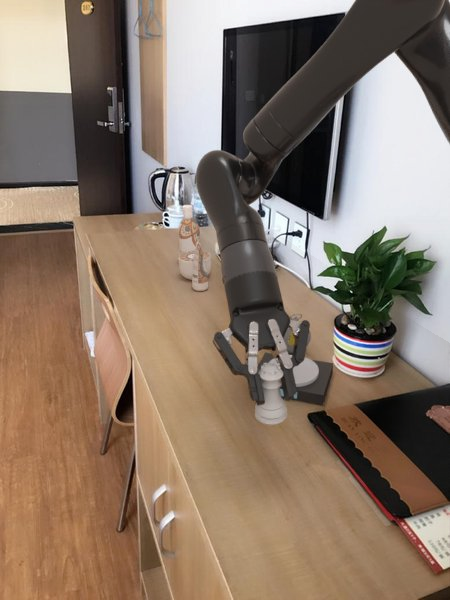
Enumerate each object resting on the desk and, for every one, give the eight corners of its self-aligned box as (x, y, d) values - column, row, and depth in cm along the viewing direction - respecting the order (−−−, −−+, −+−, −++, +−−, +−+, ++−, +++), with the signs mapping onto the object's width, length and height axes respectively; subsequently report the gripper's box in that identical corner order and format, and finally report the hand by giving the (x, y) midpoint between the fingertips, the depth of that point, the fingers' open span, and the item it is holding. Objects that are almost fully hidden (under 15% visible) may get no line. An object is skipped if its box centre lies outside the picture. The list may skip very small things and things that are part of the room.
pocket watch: (288, 336, 114) (289, 296, 110) (318, 349, 108) (320, 308, 104) (263, 349, 109) (264, 308, 105) (293, 364, 104) (294, 321, 99)
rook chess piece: (250, 423, 68) (248, 373, 64) (260, 403, 71) (259, 355, 68) (282, 430, 66) (283, 379, 63) (291, 409, 70) (292, 361, 66)
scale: (332, 373, 100) (333, 359, 99) (322, 406, 91) (323, 391, 89) (264, 362, 105) (265, 348, 103) (248, 392, 95) (248, 378, 94)
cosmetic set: (219, 292, 137) (216, 225, 129) (185, 295, 136) (180, 228, 127) (204, 260, 159) (201, 201, 151) (175, 263, 158) (170, 204, 150)
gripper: (203, 275, 66) (226, 406, 60) (305, 263, 68) (336, 388, 63) (198, 295, 73) (219, 414, 67) (291, 283, 75) (318, 398, 70)
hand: (275, 401), depth 65 cm, fingers closed on rook chess piece, 3 cm apart
